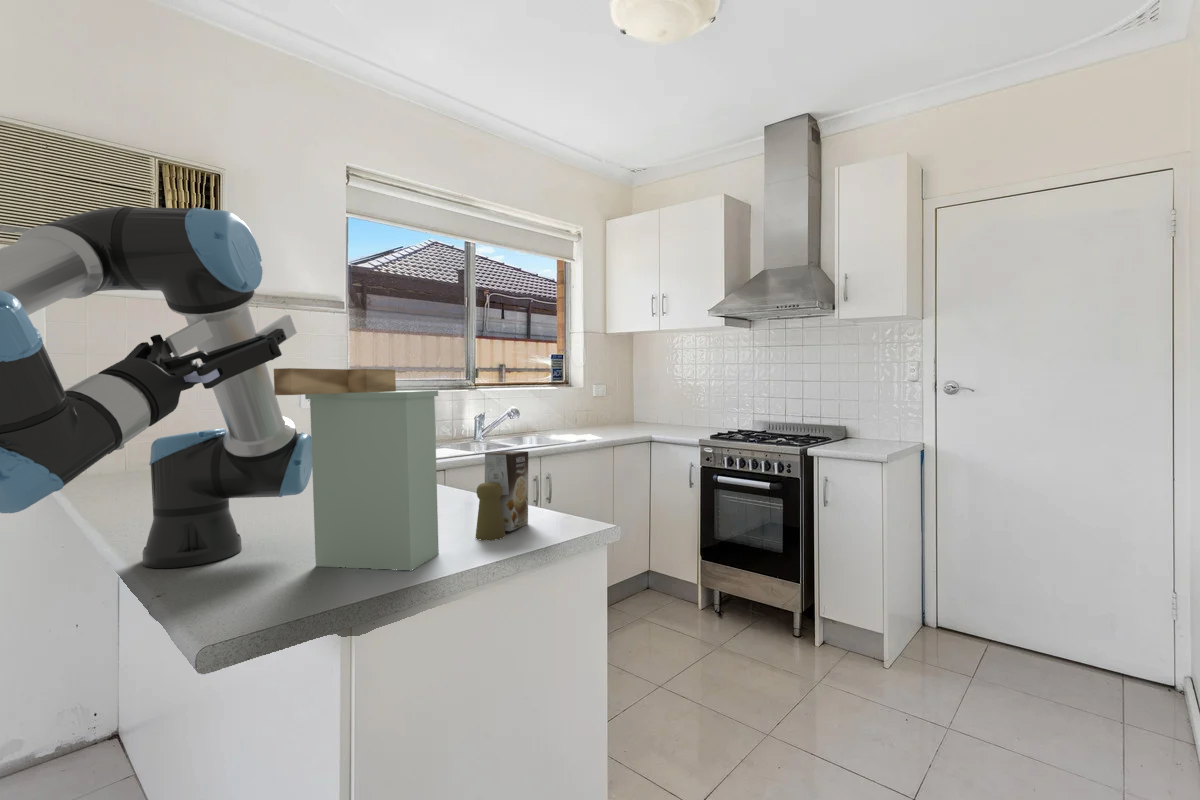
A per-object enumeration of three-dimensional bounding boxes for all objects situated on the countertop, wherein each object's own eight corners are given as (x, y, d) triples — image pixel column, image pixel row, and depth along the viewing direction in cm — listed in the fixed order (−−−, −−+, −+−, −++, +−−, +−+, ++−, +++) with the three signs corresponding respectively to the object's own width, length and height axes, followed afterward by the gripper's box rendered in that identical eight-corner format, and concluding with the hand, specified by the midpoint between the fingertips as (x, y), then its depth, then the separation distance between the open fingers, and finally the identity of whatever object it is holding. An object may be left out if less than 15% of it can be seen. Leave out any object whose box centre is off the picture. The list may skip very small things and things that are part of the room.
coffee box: (511, 532, 122) (511, 453, 122) (483, 530, 124) (483, 453, 124) (529, 523, 131) (529, 450, 131) (502, 522, 132) (502, 450, 133)
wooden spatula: (254, 395, 90) (253, 369, 90) (348, 391, 112) (347, 370, 112) (312, 394, 88) (311, 367, 88) (395, 391, 110) (395, 369, 110)
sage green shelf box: (311, 567, 102) (305, 393, 101) (350, 548, 113) (345, 391, 112) (412, 572, 99) (407, 392, 98) (442, 553, 109) (438, 390, 108)
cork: (499, 541, 117) (498, 485, 117) (470, 540, 118) (469, 485, 118) (509, 533, 123) (508, 480, 123) (482, 532, 124) (481, 480, 124)
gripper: (50, 431, 70) (184, 352, 88) (234, 429, 65) (336, 347, 83) (12, 374, 66) (161, 305, 84) (204, 368, 62) (318, 296, 80)
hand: (248, 325), depth 84 cm, fingers open, 13 cm apart
